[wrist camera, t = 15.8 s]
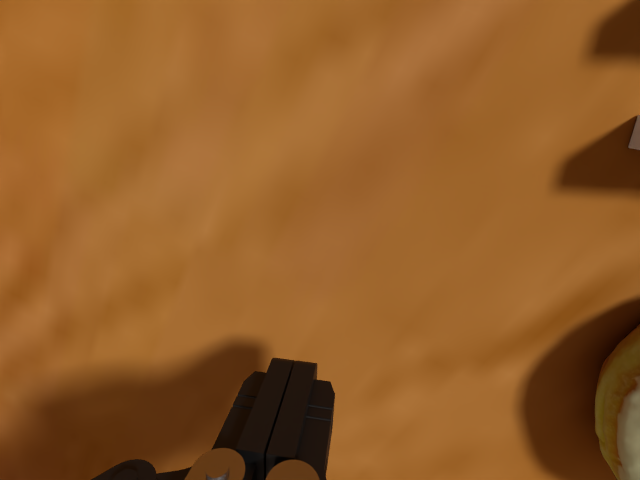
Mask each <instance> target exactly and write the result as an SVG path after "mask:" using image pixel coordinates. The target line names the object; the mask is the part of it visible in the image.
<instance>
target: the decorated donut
mask: <svg viewBox="0 0 640 480" xmlns="http://www.w3.org/2000/svg"><path fill="white" fill-rule="evenodd" d="M595 432H596V434H597V436H598V437H599V445H600V450H601V452H602V455H603V457H604V459H605V460H606V461H607V463H608V465H609V466H610V468H611V470H612V472H613V473H614V475H615V477H616V478H617V480H640V324H639V325H638V326H637V328H635V329H634V330H633V331H632V332H631V333H629V334H628V335H627V336H626V337H625V338H624V339H623V340H622V341H621V342H620V343H619V344H618V345H617V346H616V348H615V349H614V350H613V352H612V353H611V355H609V356H608V357H607V359H606V360H605V361H604V363H603V366H602V369H601V371H600V376H599V378H598V383H597V390H596V397H595Z"/></svg>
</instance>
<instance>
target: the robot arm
mask: <svg viewBox="0 0 640 480" xmlns="http://www.w3.org/2000/svg"><path fill="white" fill-rule="evenodd" d="M334 399H335V393H334V391H333V388H332V385H331V382H329V381H322V380H317V363H311V362H303V361H294V360H288V359H280V358H273V359H272V360H271V363H270V365H269V368H268V370H267V373H264V372H257V371H255V372H254V373H253V374H252V375H250V376H249V377H248V378H247V379H246V380H245V381H244V382H243V385H242V387H241V389H240V391H239V393H238V397H236V399H235V402H234V404H233V407H232V408H231V410H230V412H229V414H228V416H227V419H226V421H225V423H224V425H223V427H222V429H221V431H220V433H219V436H218V438H217V440H216V442H215V444H214V446H213V448H212V450H210V451H208V452H206V453H205V454H203V455H202V456H201V457H199V458H198V459H197V460H196V462H195V463H194V464H193V466H192V467H190V468H187V469H183V470H179V471H172V472H165V473H159V474H156V471H155V468H154V467H153V465H152V464H150V463H149V462H147V461H145V460H138V459H135V460H129V461H125V462H123V463H120V464H118V465H116V466H114V467H113V468H111V469H109V470H107V471H106V472H104V473H102V474H100V475H99V476H97V477H95V478H93V479H92V480H326V470H327V463H328V456H329V448H330V441H331V434H332V425H333V412H334Z"/></svg>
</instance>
